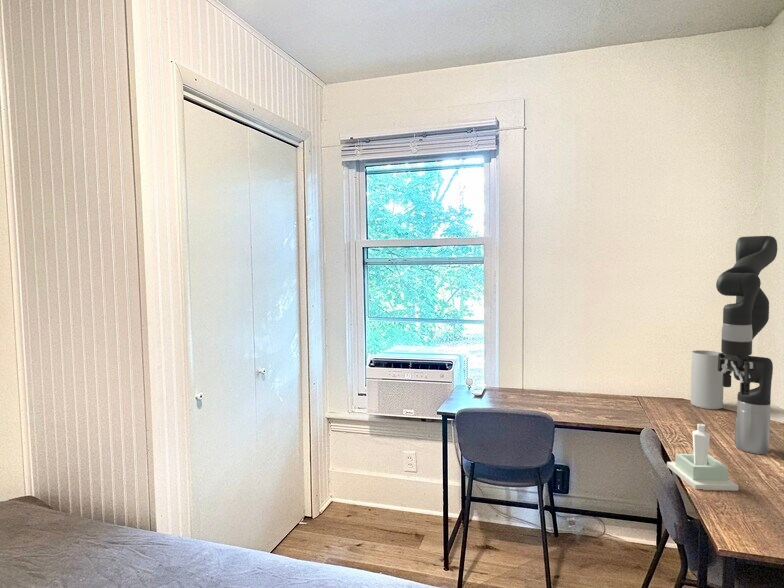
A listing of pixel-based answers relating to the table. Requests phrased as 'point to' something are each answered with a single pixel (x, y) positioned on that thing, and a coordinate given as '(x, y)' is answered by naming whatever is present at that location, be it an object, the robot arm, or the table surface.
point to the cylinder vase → (706, 380)
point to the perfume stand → (702, 473)
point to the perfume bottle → (700, 445)
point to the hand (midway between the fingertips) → (735, 390)
